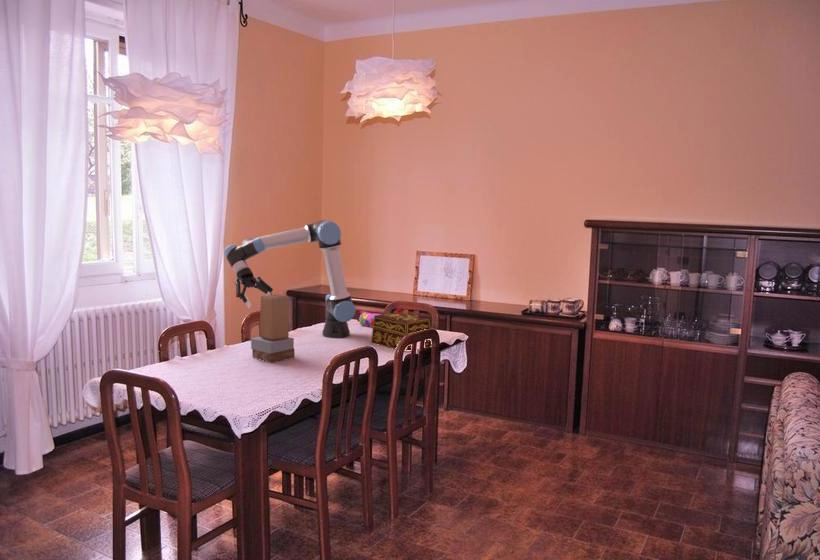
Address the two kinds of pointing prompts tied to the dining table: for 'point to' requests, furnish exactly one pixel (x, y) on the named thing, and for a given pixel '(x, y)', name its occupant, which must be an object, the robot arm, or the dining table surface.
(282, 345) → the tower top block
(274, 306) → the wooden block
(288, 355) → the tower base block
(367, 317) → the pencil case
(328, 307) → the robot arm
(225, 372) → the dining table surface
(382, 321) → the decorative box
